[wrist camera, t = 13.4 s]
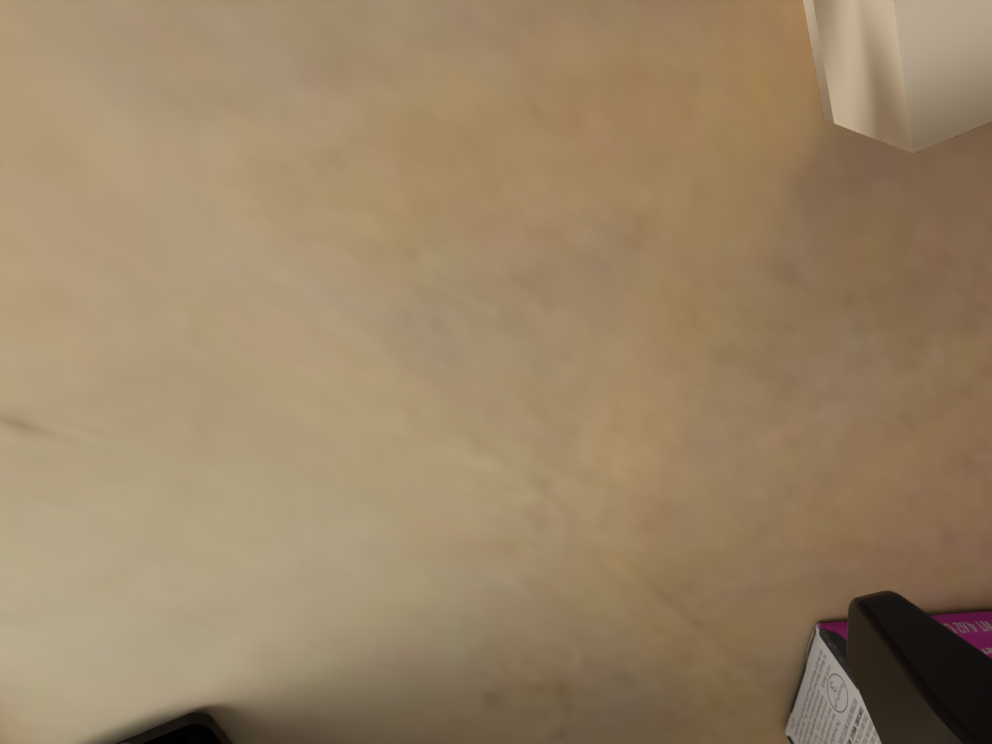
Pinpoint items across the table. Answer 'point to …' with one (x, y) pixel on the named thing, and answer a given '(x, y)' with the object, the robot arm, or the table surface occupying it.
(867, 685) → the robot arm
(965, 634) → the candy bar box
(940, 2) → the birch block
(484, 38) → the table surface
